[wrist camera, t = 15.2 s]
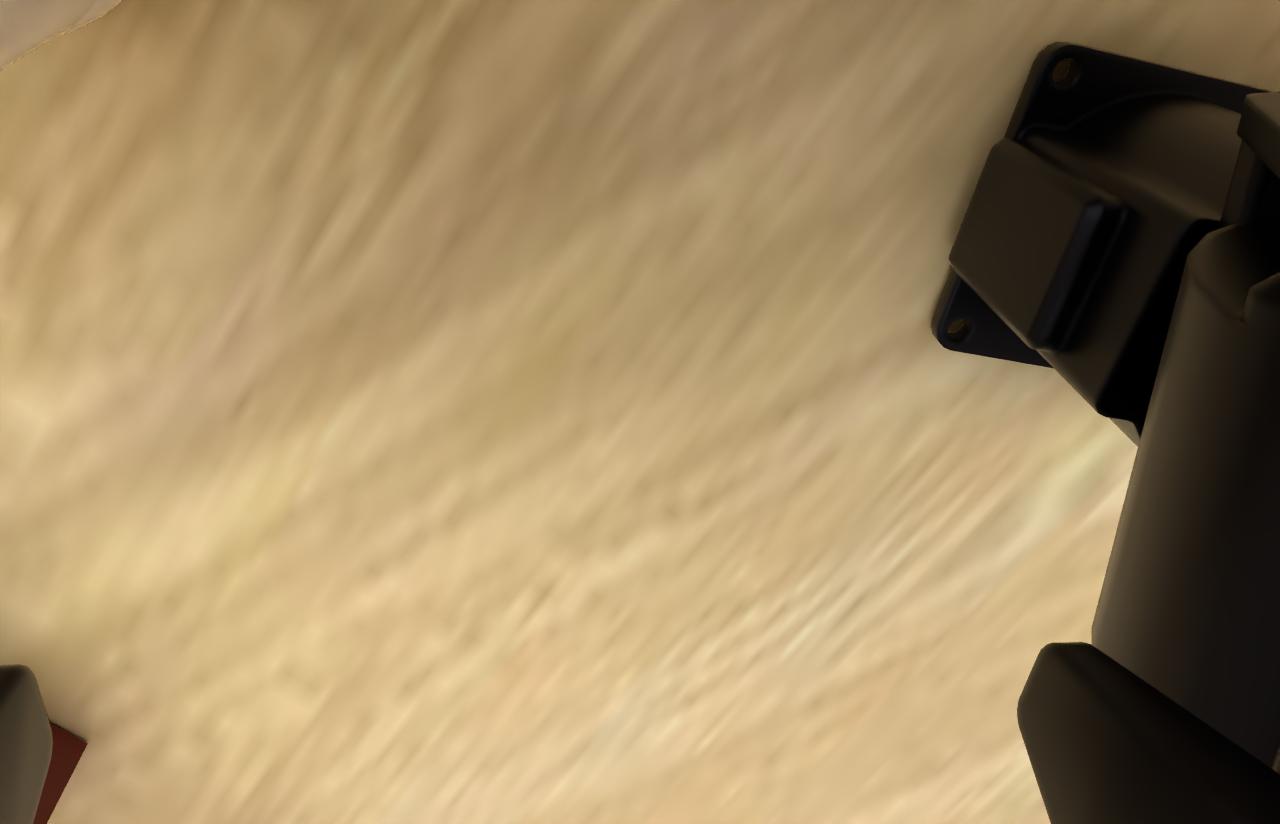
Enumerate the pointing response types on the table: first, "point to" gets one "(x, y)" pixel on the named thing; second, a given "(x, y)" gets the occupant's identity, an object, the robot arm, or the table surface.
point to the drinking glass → (43, 23)
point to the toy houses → (58, 771)
